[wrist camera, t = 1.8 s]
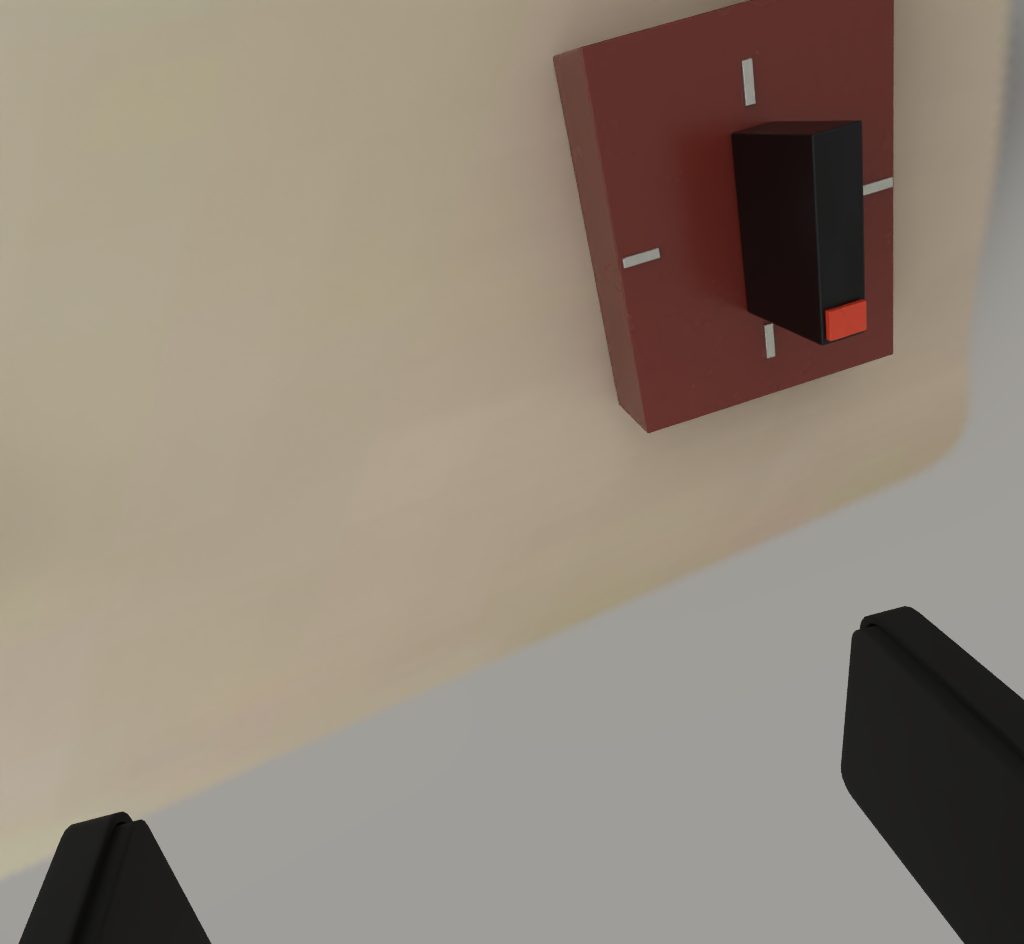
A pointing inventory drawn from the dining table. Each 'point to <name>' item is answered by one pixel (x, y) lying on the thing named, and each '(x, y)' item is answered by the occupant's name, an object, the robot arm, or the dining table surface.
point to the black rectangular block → (803, 225)
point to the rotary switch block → (718, 191)
